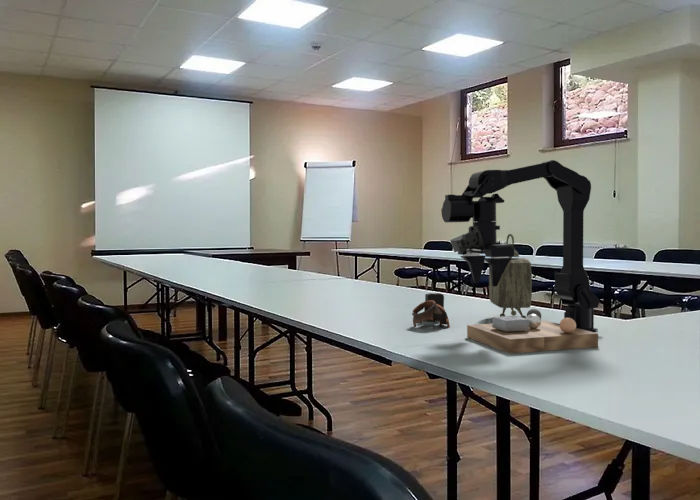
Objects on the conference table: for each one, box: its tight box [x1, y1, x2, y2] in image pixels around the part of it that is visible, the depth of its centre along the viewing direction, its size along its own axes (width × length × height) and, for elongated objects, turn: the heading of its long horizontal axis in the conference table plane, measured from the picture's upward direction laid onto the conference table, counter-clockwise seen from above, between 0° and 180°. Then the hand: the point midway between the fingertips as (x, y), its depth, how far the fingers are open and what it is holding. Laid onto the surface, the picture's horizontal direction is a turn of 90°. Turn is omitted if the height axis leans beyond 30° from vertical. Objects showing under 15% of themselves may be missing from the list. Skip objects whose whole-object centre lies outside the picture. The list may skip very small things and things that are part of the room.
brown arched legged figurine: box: [411, 300, 451, 329], centre depth 162 cm, size 12×10×8 cm
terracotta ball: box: [559, 317, 576, 333], centre depth 132 cm, size 4×4×4 cm
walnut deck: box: [466, 320, 599, 354], centre depth 138 cm, size 22×20×3 cm
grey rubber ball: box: [526, 308, 542, 320], centre depth 147 cm, size 4×4×4 cm
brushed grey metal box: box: [491, 315, 529, 332], centre depth 137 cm, size 6×6×2 cm
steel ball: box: [526, 314, 542, 329], centre depth 138 cm, size 4×4×4 cm
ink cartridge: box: [424, 292, 445, 322], centre depth 171 cm, size 5×2×8 cm, turn 103°
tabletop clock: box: [488, 233, 533, 318], centre depth 173 cm, size 14×9×25 cm, turn 179°
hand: (485, 284), depth 146 cm, fingers open, 9 cm apart
